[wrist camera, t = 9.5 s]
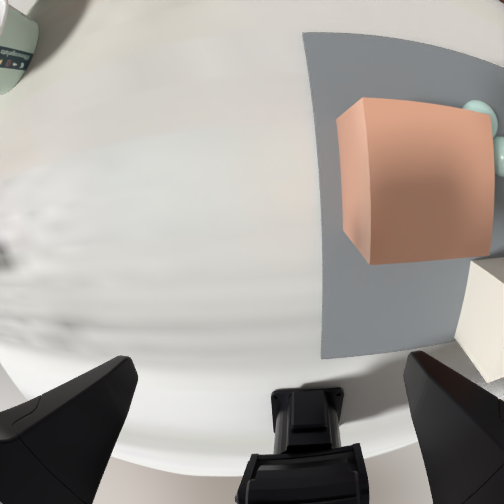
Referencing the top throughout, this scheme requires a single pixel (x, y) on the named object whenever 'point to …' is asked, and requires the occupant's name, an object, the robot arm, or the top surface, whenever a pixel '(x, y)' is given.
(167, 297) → the top surface
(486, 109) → the marble
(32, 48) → the food container
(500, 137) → the marble
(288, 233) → the top surface
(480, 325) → the ivory rectangular chunk
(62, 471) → the robot arm
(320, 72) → the mat
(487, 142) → the salmon pink cube
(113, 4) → the top surface
